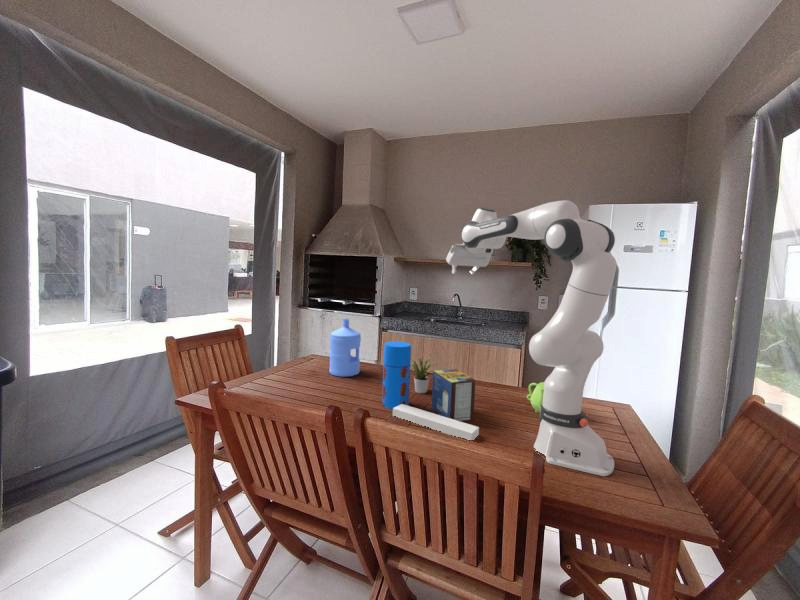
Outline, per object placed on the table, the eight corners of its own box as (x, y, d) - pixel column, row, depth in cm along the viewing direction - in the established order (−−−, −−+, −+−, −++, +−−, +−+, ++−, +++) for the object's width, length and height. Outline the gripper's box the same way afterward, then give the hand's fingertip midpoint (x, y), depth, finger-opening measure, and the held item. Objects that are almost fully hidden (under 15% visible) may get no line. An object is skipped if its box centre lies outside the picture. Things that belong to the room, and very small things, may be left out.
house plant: (438, 386, 174) (439, 353, 172) (440, 397, 160) (442, 360, 158) (408, 385, 174) (409, 351, 173) (408, 395, 160) (409, 359, 159)
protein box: (453, 405, 151) (455, 368, 150) (473, 420, 137) (476, 379, 135) (430, 407, 147) (432, 370, 146) (449, 423, 133) (451, 381, 132)
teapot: (576, 421, 140) (579, 389, 139) (539, 420, 139) (542, 388, 138) (556, 405, 156) (559, 376, 155) (523, 404, 155) (526, 375, 154)
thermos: (377, 401, 151) (380, 342, 149) (400, 398, 156) (403, 340, 154) (389, 411, 142) (391, 348, 140) (413, 407, 147) (416, 346, 145)
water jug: (327, 377, 182) (328, 321, 179) (331, 368, 197) (332, 317, 195) (359, 377, 183) (360, 322, 181) (360, 368, 199) (361, 317, 196)
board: (478, 435, 124) (479, 427, 124) (471, 442, 119) (471, 433, 119) (401, 411, 142) (402, 403, 142) (392, 415, 137) (392, 408, 137)
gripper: (456, 246, 146) (446, 276, 153) (496, 250, 155) (484, 277, 162) (449, 240, 151) (439, 269, 158) (488, 243, 160) (477, 270, 167)
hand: (462, 273), depth 160 cm, fingers open, 8 cm apart
